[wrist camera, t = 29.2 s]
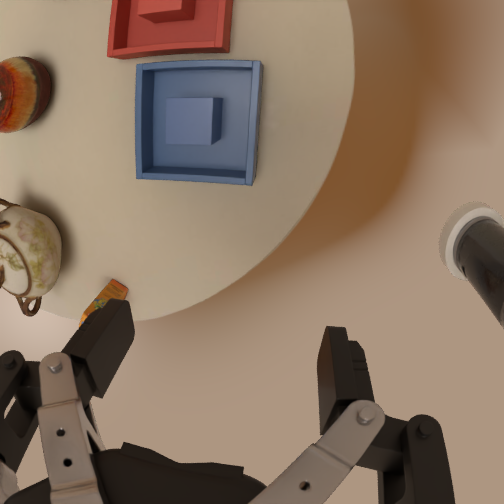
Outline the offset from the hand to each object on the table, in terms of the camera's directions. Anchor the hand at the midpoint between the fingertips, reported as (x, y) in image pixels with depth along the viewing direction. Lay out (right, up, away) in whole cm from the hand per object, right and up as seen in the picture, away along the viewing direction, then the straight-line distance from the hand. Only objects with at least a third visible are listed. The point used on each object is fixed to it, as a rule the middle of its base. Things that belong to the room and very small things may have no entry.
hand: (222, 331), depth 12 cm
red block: (-8, +32, +15) cm, 37 cm away
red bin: (-8, +33, +16) cm, 37 cm away
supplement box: (-20, -3, +36) cm, 41 cm away
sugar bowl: (-34, +6, +33) cm, 47 cm away
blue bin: (-5, +19, +23) cm, 30 cm away
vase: (-31, +27, +22) cm, 47 cm away
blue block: (-5, +19, +22) cm, 29 cm away
